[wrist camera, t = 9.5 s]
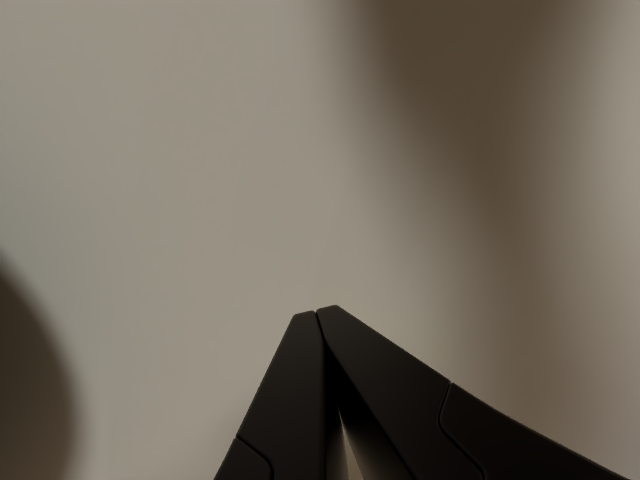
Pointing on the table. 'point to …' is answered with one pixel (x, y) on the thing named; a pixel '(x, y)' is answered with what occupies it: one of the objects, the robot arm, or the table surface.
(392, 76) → the table surface
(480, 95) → the table surface
